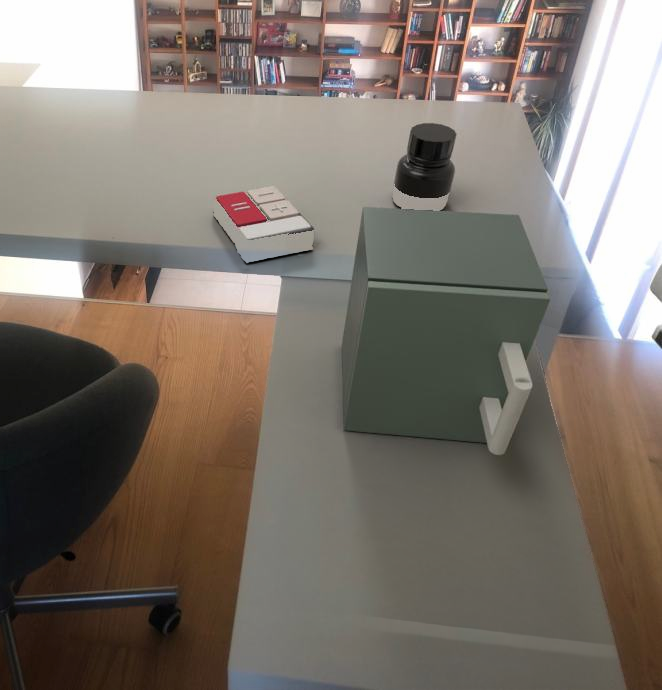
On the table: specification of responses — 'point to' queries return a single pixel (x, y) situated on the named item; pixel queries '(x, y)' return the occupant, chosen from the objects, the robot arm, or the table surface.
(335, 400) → the table surface
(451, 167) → the ink bottle
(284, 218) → the calculator
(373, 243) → the green cabinet
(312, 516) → the table surface
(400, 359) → the cabinet door
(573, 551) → the table surface
